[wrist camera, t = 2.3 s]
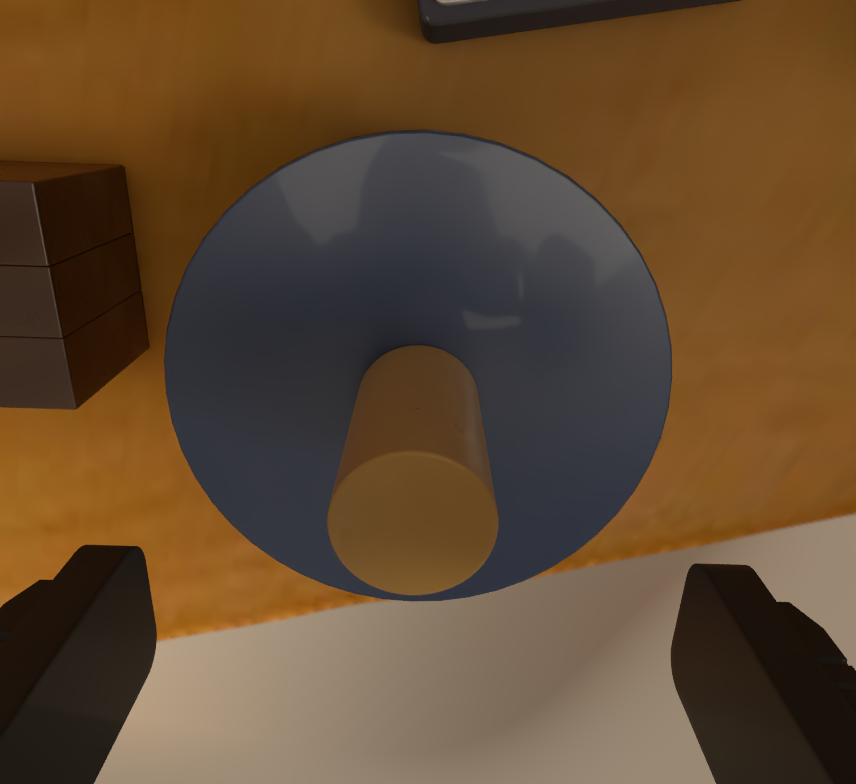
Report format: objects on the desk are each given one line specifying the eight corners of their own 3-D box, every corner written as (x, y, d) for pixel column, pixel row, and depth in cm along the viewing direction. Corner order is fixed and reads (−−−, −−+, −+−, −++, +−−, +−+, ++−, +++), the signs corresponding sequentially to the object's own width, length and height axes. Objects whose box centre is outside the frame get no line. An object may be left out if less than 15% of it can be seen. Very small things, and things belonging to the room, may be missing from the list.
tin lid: (151, 119, 15) (-38, 125, 9) (699, 138, 15) (879, 157, 9) (204, 569, 20) (105, 772, 14) (620, 581, 20) (703, 787, 14)
